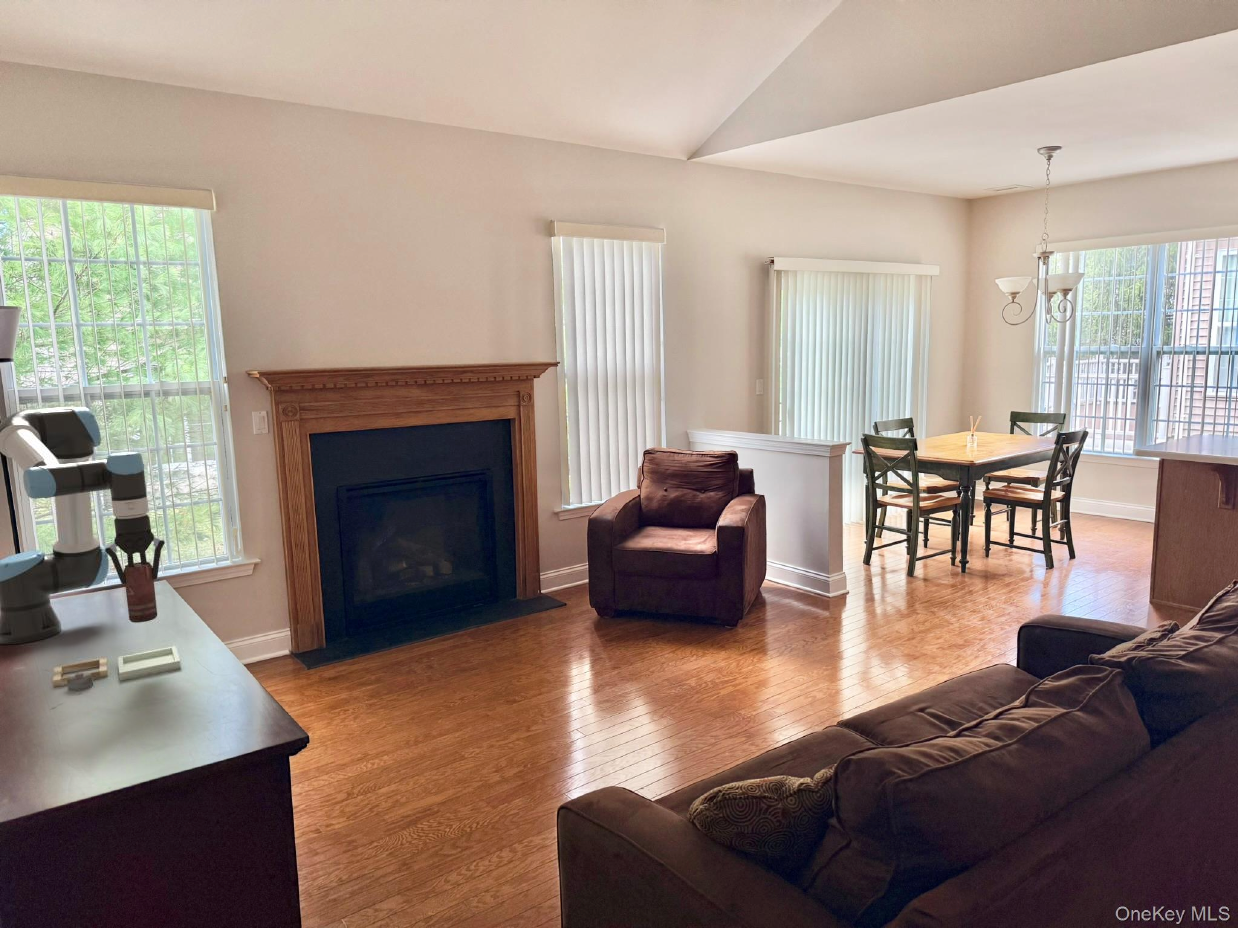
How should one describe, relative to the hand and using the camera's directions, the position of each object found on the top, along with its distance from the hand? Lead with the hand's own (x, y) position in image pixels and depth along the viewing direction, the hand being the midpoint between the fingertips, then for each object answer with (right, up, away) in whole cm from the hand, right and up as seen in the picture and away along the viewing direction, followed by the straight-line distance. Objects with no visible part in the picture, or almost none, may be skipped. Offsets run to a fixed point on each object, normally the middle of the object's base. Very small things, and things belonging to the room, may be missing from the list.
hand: (142, 608), depth 208 cm
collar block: (-13, -16, -4) cm, 21 cm away
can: (0, -3, 0) cm, 3 cm away
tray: (0, -15, +2) cm, 15 cm away
